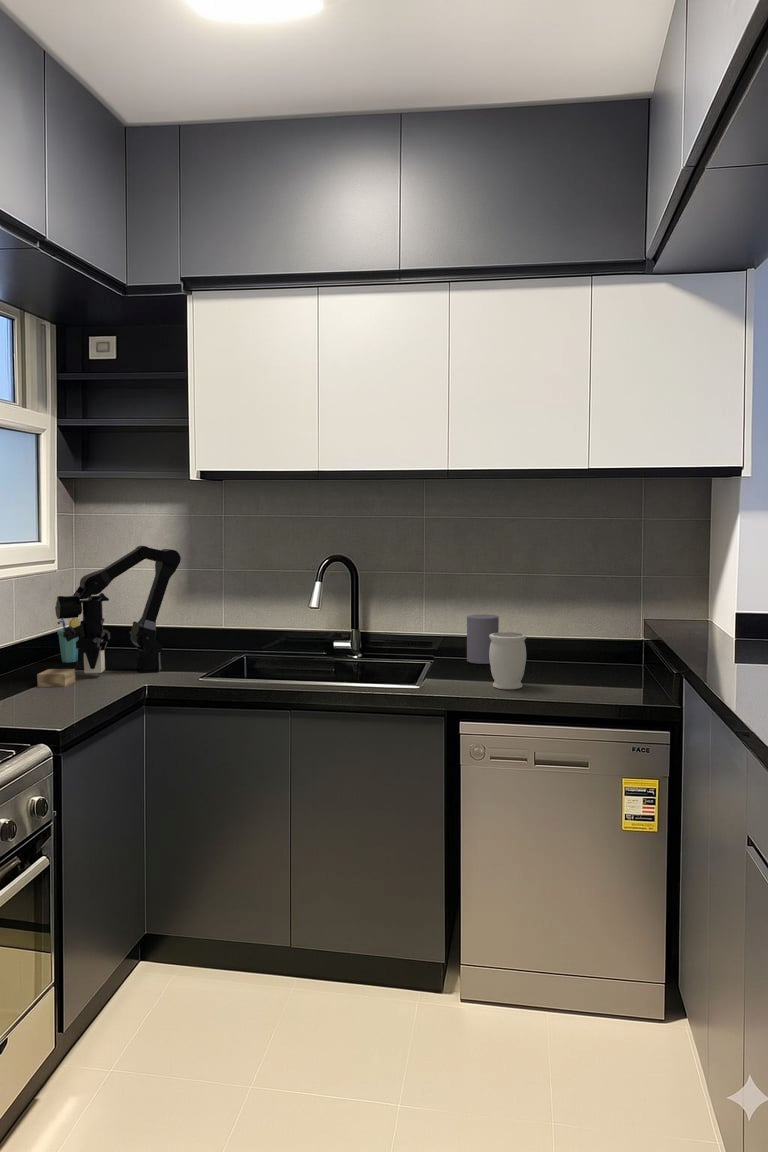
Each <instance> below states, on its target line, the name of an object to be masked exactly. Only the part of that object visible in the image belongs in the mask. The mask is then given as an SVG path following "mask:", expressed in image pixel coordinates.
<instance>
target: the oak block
mask: <svg viewBox="0 0 768 1152" xmlns="http://www.w3.org/2000/svg"><path fill="white" fill-rule="evenodd" d="M36 679H37V680H36V681H37V687H38V688H66V687H68V686H70V685H71V684H73V683H75V682H76V668H47V669H46V670H44V671H41V672H39V673H37V674H36Z"/></svg>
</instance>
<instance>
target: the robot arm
mask: <svg viewBox="0 0 768 1152" xmlns="http://www.w3.org/2000/svg"><path fill="white" fill-rule="evenodd" d="M144 560H149V561H154V562H155V564H154V568H155V569H154V571H155V572H154V573H155V575H154V578H153V581H152V585H151V587H150V590H149V593H148V597H147V599H146V604H145V607H144V609H143V612H142V615H141V618H140V619H139V620H138V621H132V622H133V623H132V625H131V626H132V627H131V629H130V631H129V632H128V633H129V634H130V637H129V638H130V641H131V643H132V644H133V645H134V646H135V647H136V649H137V651H138V655H137V657H136V670H137V673H158V672H160V671H161V669H162V668H163V667H162V666H161V653H162V649H163V646H164V645H162V644H161V643H160V642H159V641H158V640H156V635H157V617H158V615H159V613H160V609H161V607H162V603H163V601H164V597H165V594H166V591H167V587H168V585H169V582H170V579H171V578H172V576H173V575H174V574H175V572H176V570H177V569H178V567H179V565H180V563H181V561H182V558H181V554H180V553H179V552H178V551H177V550H175V549H170V548H162V549H156V548H152V547H149V546H146V545H138V546H136V547H135V549H133V550H132V551H130V552H128V553H126V554H125V555H123V556H122V557H120V558H118V559H117V560H116V561H114V562H112V563H111V564H109V565H107V566H106V567H105V568H101V569H99V570H96V571H92V572H90V573H88V574H85V575H84V576H82V577H81V578H80V581H79V586H78V587H77V589H76V591H75V592H74V593H73V594H72V595H67V596H66V595H65V596H64V595H58V596H56V597H57V598H56V599H57V600H56V603H55V607H54V608H55V609H54V610H55V616H56V619H57V620H61V619H63V620H65V619H73V618H76V619H78V618H79V616H81V614H82V620H81V621H79V622H80V625H79V626H77V627H74V628H72V627H71V626H70V627H69V626H68V627H66V628H65V631H64V632H63V634H64V635H63V637H64V638H66V641H67V642H68V641H71V640H72V639H74V638H77V637H79V640H78V641H77V642H76V649H78V650H79V651H80V650H81V651H82V652H84V653H86V656H87V659H88V662H89V665H90V668H91V669H94V668H95V666H96V663H97V659H98V656H99V653H100V650H104V651H105V650H106V647H107V645H108V643H109V640H111V632H110V631H109V630H108V629H104V623H105V618H103V602H108V601H109V600H110V598H108V597H107V596H106V595H105V593H104V592H103V591H104V590H105V589H106V588H107V587H108V586H109V585H110V584H111V583H112V581H114V579H116V578H117V577H119V576H120V575H122V574H124V573H126V572H127V571H128V570H130V569H131V568H133V567H134V566H136V565H138V564H140V563H141V562H142V561H144ZM105 639H106V640H107V641H106V640H105ZM104 640H105V641H104Z"/></svg>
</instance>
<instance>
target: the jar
mask: <svg viewBox="0 0 768 1152" xmlns="http://www.w3.org/2000/svg"><path fill="white" fill-rule="evenodd" d="M489 637H490V639H491V644H490V650H489V660H490V664H489V665H490V671H491V673H490V674H491V676H492V678H493V680H494V681H493V683H492V687H494V688H496V689H498V690H518V689H521V688H523V683H522V682H521V681H522V679H523V677H524V674H525V670H526V669H525V668H526V662H527V648H526V642H525V640H526V639H527V635H526V634H524V633H520V632H512V631H511V632H510V631H509V632H506V631H504V632H503V631H502V632H499V633H493V634H490V636H489Z"/></svg>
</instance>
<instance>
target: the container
mask: <svg viewBox="0 0 768 1152" xmlns="http://www.w3.org/2000/svg"><path fill="white" fill-rule="evenodd" d="M499 617H500V616H499V615H495V614H482V613H481V614H471V615H467V616H466V662H468V663H469V664H474V665H490V660H489V650H490V644H491V639H490V637H489V636H490V634H493V633H500V632H499V630H500V629H499V624H500V622H499V621H500V620H499Z"/></svg>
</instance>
